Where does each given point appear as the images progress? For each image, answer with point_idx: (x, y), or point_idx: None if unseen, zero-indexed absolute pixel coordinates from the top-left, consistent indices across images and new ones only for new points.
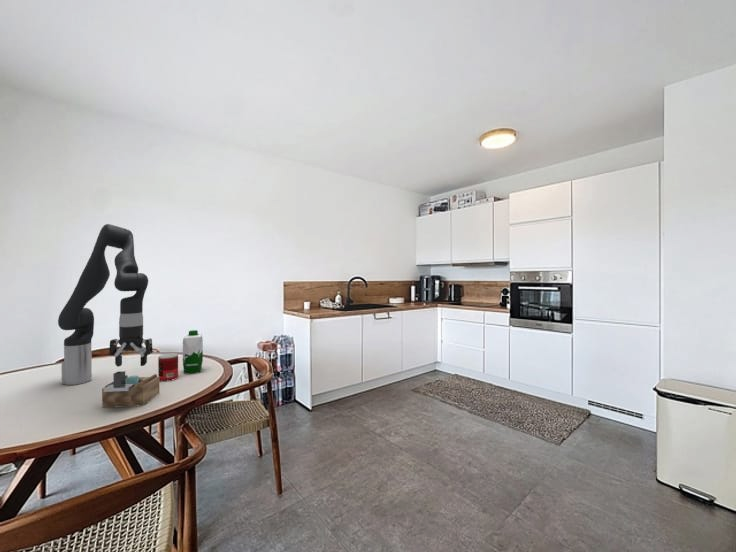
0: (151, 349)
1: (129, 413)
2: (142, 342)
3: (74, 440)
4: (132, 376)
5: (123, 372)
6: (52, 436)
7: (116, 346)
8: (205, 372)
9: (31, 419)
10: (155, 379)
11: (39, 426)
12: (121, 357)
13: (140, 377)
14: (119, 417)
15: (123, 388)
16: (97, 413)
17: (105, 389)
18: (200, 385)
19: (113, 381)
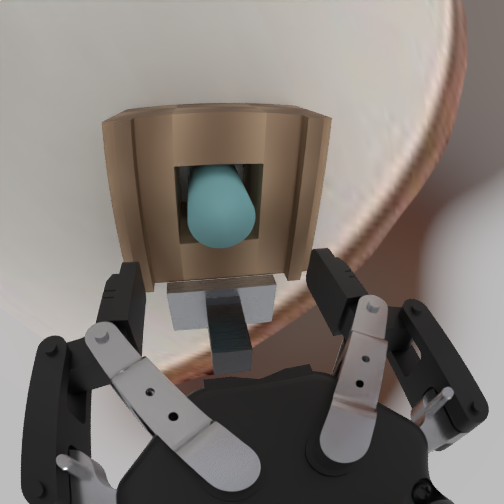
0: (432, 333)
1: None
2: (402, 427)
3: None
4: (213, 202)
5: (251, 358)
6: (162, 363)
7: (63, 421)
8: None
9: (27, 298)
10: (324, 161)
11: (85, 330)
12: (130, 312)
13: (219, 116)
14: None
15: (252, 321)
16: None
17: (181, 326)
18: (419, 57)
19: (128, 235)
